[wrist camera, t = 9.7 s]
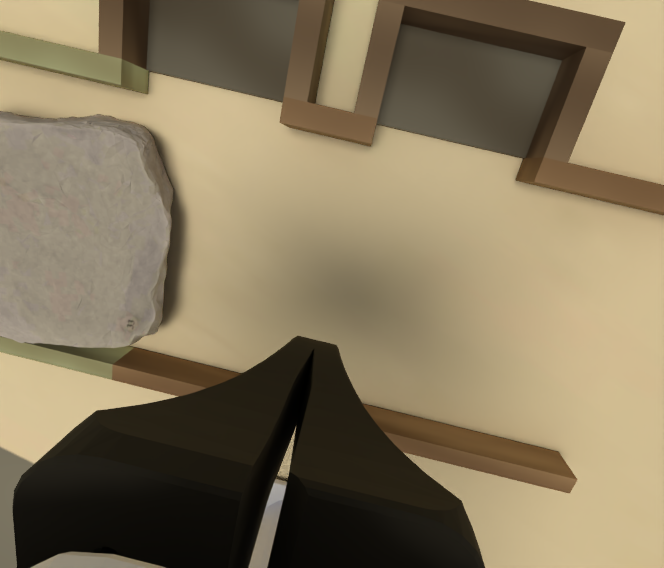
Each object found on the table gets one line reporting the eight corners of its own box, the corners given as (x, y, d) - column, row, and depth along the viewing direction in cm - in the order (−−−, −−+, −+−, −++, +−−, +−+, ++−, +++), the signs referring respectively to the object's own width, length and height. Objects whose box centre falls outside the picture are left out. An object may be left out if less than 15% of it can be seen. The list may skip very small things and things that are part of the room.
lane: (551, 464, 22) (569, 493, 20) (-39, 319, 22) (-76, 332, 20) (759, 78, 15) (815, 65, 13) (-90, -115, 16) (-153, -154, 14)
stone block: (181, 118, 19) (-25, 109, 18) (149, 109, 15) (-126, 96, 14) (201, 318, 24) (33, 321, 22) (180, 358, 19) (-30, 364, 18)
